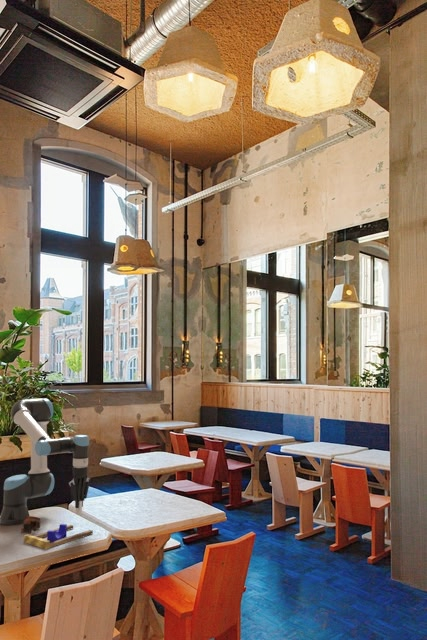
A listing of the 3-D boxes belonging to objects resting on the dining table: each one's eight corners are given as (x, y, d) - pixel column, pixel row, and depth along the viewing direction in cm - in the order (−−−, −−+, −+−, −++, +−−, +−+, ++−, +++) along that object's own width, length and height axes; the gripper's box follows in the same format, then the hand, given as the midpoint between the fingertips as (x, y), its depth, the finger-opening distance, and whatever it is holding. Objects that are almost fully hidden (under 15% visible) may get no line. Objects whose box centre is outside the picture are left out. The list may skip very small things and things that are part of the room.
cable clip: (58, 536, 248) (58, 523, 249) (66, 537, 247) (66, 524, 248) (44, 544, 237) (44, 531, 238) (52, 545, 236) (53, 531, 236)
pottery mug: (15, 533, 255) (20, 516, 260) (30, 538, 261) (35, 521, 265) (30, 530, 249) (35, 513, 254) (46, 535, 255) (50, 518, 259)
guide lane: (23, 541, 240) (24, 535, 240) (70, 527, 262) (70, 521, 262) (45, 549, 230) (46, 542, 230) (92, 533, 252) (92, 527, 252)
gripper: (74, 469, 251) (72, 518, 249) (95, 465, 262) (93, 512, 260) (65, 467, 256) (63, 515, 254) (85, 463, 266) (84, 509, 264)
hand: (78, 514), depth 257 cm, fingers closed
